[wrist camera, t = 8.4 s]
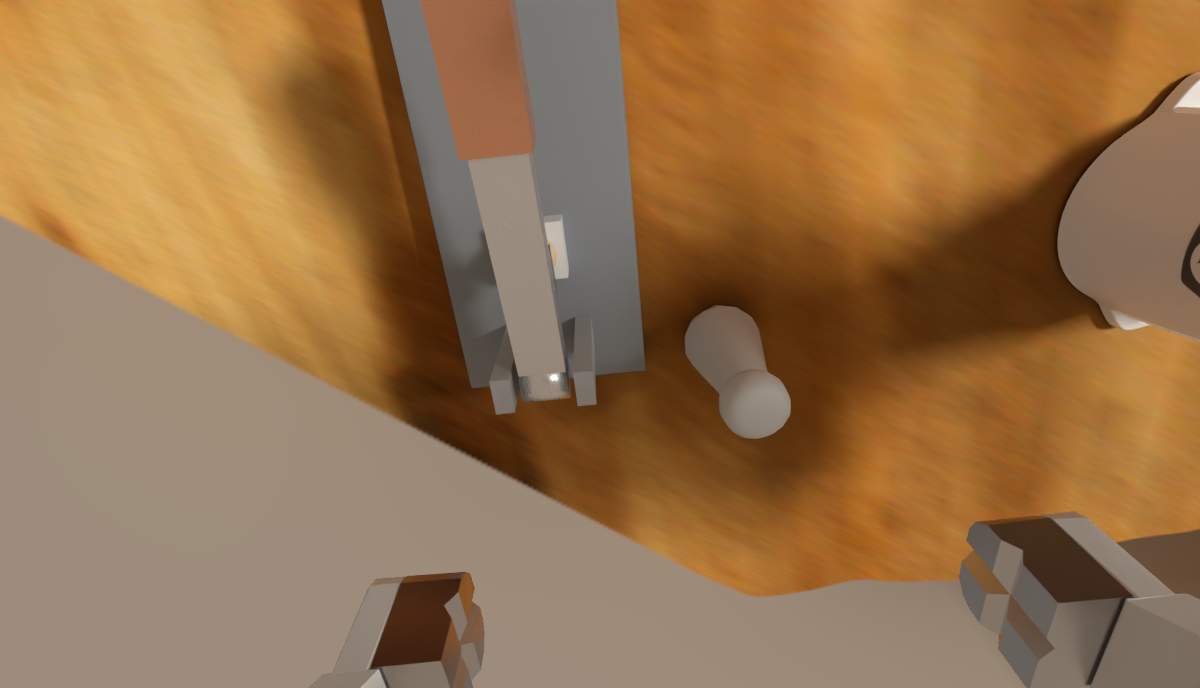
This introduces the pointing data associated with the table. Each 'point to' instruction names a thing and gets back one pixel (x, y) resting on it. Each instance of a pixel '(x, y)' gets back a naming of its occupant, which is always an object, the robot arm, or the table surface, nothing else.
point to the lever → (503, 176)
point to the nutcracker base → (566, 186)
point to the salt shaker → (737, 371)
